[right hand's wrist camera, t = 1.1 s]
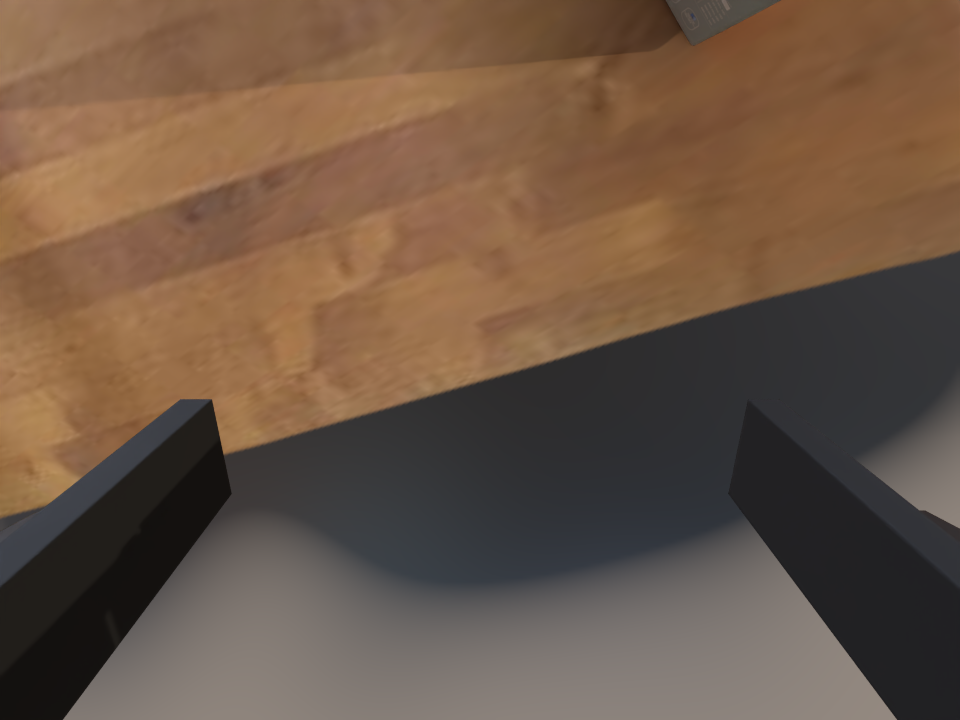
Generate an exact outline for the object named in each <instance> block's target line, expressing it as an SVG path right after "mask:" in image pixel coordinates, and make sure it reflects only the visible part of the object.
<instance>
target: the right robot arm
mask: <svg viewBox="0 0 960 720" xmlns="http://www.w3.org/2000/svg"><path fill="white" fill-rule="evenodd" d="M230 495H231V489H230V484H229V479H228V474H227V469H226V465H225V460H224V455H223V450H222V446H221V441H220V436H219V431H218V426H217V422H216V417H215V412H214V407H213V403H212V399H180V400H179V401H178V402H177V403H175V404H174V405H173V406H172V407H170V408H169V409H168V410H167V411H165V412H164V413H163V414H162V415H160V416H159V417H158V418H157V419H155V420H154V421H153V422H152V423H150V424H149V425H148V426H146V427H145V428H144V429H143V430H141V431H140V432H139V433H138V434H136V435H135V436H134V437H133V438H131V439H130V440H129V441H128V442H126V443H125V444H124V445H123V446H121V447H120V448H119V449H118V450H116V451H115V452H114V453H113V454H111V455H110V456H109V457H107V458H106V459H105V460H104V461H102V462H101V463H100V464H99V465H97V466H96V467H95V468H94V469H92V470H91V471H90V472H89V473H87V474H86V475H85V476H84V477H82V478H81V479H80V480H79V481H77V482H76V483H75V484H74V485H72V486H71V487H70V488H69V489H67V490H66V491H65V492H63V493H62V494H61V495H60V496H58V497H57V498H56V499H55V500H53V501H52V502H51V503H50V504H48V505H47V506H46V507H45V508H43V509H42V510H41V511H40V512H36V513H33V514H32V515H30V516H28V517H26V518H24V519H22V520H20V521H18V522H16V523H15V524H13V525H11V526H9V527H7V528H5V529H3V530H1V531H0V720H63V719H64V717H65V716H66V715H67V713H68V712H69V711H70V709H71V708H72V707H73V705H74V704H75V703H76V701H77V700H78V699H79V697H80V696H81V695H82V693H83V692H84V691H85V689H86V688H87V687H88V685H89V684H90V683H91V681H92V680H93V679H94V677H95V676H96V675H97V673H98V672H99V671H100V669H101V668H102V667H103V665H104V664H105V663H106V661H107V660H108V658H109V657H110V656H111V654H112V653H113V652H114V651H115V649H116V648H117V647H118V645H119V644H120V643H121V641H122V640H123V638H124V637H125V636H126V634H127V633H128V632H129V630H130V629H131V628H132V626H133V625H134V624H135V622H136V621H137V620H138V618H139V617H140V616H141V614H142V613H143V612H144V610H145V609H146V608H147V606H148V605H149V604H150V602H151V601H152V600H153V598H154V597H155V596H156V594H157V593H158V592H159V590H160V589H161V588H162V586H163V585H164V584H165V582H166V581H167V580H168V578H169V577H170V576H171V574H172V573H173V572H174V570H175V569H176V568H177V566H178V565H179V564H180V562H181V561H182V560H183V558H184V557H185V556H186V554H187V553H188V551H189V550H190V549H191V547H192V546H193V545H194V543H195V542H196V541H197V539H198V538H199V537H200V535H201V534H202V533H203V531H204V530H205V529H206V527H207V526H208V525H209V523H210V522H211V521H212V519H213V518H214V517H215V515H216V514H217V513H218V511H219V510H220V509H221V507H222V506H223V505H224V503H225V502H226V501H227V499H228V498H229V497H230ZM729 495H730V497H731V498H732V499H733V501H734V502H735V503H736V505H737V506H738V507H739V509H740V510H741V511H742V513H743V514H744V515H745V517H746V518H747V519H748V521H749V522H750V523H751V525H752V526H753V527H754V529H755V530H756V531H757V533H758V534H759V535H760V537H761V538H762V539H763V541H764V542H765V543H766V545H767V546H768V547H769V549H770V550H771V551H772V553H773V554H774V556H775V557H776V558H777V559H778V561H779V562H780V564H781V565H782V566H783V568H784V569H785V570H786V572H787V573H788V574H789V575H790V577H791V578H792V580H793V581H794V582H795V584H796V585H797V586H798V588H799V589H800V590H801V592H802V593H803V594H804V596H805V597H806V598H807V600H808V601H809V602H810V604H811V605H812V606H813V608H814V609H815V610H816V612H817V613H818V614H819V616H820V617H821V618H822V620H823V621H824V622H825V624H826V625H827V626H828V628H829V629H830V630H831V632H832V633H833V634H834V636H835V637H836V638H837V640H838V641H839V643H840V644H841V645H842V646H843V648H844V649H845V650H846V652H847V653H848V655H849V656H850V657H851V658H852V660H853V661H854V662H855V664H856V665H857V667H858V668H859V669H860V671H861V672H862V673H863V675H864V676H865V677H866V679H867V680H868V681H869V683H870V684H871V685H872V687H873V688H874V689H875V691H876V692H877V693H878V695H879V696H880V697H881V699H882V700H883V701H884V703H885V704H886V705H887V707H888V708H889V709H890V711H891V712H892V713H893V715H894V716H895V717H896V719H897V720H960V529H959V528H957V527H955V526H954V525H952V524H950V523H948V522H946V521H944V520H942V519H940V518H938V517H936V516H934V515H933V514H931V513H929V512H927V511H919V510H918V509H917V508H915V507H914V506H913V505H912V504H910V503H909V502H908V501H907V500H905V499H904V498H903V497H902V496H900V495H899V494H898V493H896V492H895V491H894V490H893V489H891V488H890V487H889V486H888V485H886V484H885V483H884V482H883V481H881V480H880V479H879V478H878V477H876V476H875V475H874V474H873V473H871V472H870V471H869V470H868V469H866V468H865V467H864V466H862V465H861V464H860V463H859V462H858V461H856V460H855V459H854V458H852V457H851V456H850V455H849V454H847V453H846V452H845V451H844V450H842V449H841V448H840V447H839V446H837V445H836V444H835V443H834V442H832V441H831V440H830V439H829V438H827V437H826V436H825V435H824V434H822V433H821V432H820V431H819V430H817V429H816V428H815V427H813V426H812V425H811V424H810V423H808V422H807V421H806V420H805V419H803V418H802V417H801V416H800V415H798V414H797V413H796V412H795V411H793V410H792V409H791V408H790V407H788V406H787V405H786V404H785V403H783V402H782V401H781V400H779V399H749V400H748V403H747V407H746V412H745V417H744V422H743V427H742V431H741V436H740V441H739V446H738V450H737V455H736V460H735V465H734V470H733V474H732V479H731V484H730V489H729Z"/></svg>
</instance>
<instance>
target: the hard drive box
mask: <svg viewBox="0 0 960 720" xmlns="http://www.w3.org/2000/svg"><path fill="white" fill-rule="evenodd" d="M779 1H780V0H666V2H667V4H668V5H669V7H670V9H671V11H672V13H673V14H674V16H675V18H676V20H677V21H678V23H679V25H680V27H681V28H682V30H683V32H684V34H685V35H686V37H687V39H688V41H689V42H690V44H691V45H693V46H694V45H696V44H698V43H700V42H702V41H704V40H706V39H708V38H710V37H712V36H714V35H716V34H718V33H720V32H722V31H724V30H726V29H728V28H729V27H731V26H733V25H735V24H737V23H739V22H741V21H743V20H745V19H747V18H749V17H750V16H752V15H754V14H756V13H758V12H760V11H762V10H764V9H765V8H767V7H769V6H771V5H773V4H775V3H777V2H779Z"/></svg>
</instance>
